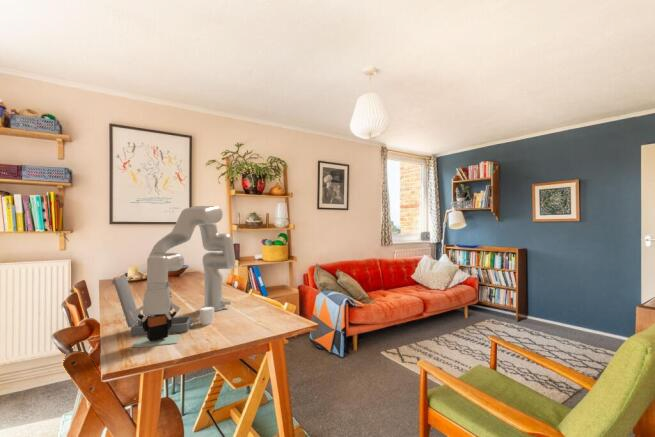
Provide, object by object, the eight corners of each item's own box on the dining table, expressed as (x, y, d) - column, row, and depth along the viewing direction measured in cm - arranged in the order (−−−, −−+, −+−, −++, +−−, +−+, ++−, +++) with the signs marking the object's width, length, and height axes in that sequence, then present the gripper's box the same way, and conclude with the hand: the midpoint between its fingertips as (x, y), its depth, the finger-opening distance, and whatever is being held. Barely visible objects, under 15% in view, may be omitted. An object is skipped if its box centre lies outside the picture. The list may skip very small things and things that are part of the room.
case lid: (125, 275, 145) (123, 275, 145) (115, 279, 133) (113, 280, 133) (139, 318, 146) (137, 319, 146) (131, 327, 134) (128, 327, 134)
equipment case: (191, 323, 152) (191, 300, 152) (187, 331, 140) (187, 306, 140) (136, 327, 146) (136, 303, 146) (127, 336, 134) (128, 310, 134)
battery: (168, 337, 130) (168, 312, 130) (149, 341, 125) (149, 316, 125) (164, 334, 133) (164, 310, 133) (146, 338, 128) (146, 313, 128)
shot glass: (217, 321, 155) (217, 306, 155) (208, 325, 148) (208, 310, 148) (205, 320, 157) (205, 305, 157) (196, 324, 151) (196, 309, 151)
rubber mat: (180, 335, 136) (180, 334, 136) (176, 343, 126) (176, 342, 126) (138, 338, 132) (138, 337, 132) (130, 347, 122) (130, 346, 122)
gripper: (182, 283, 135) (182, 324, 135) (136, 285, 131) (136, 328, 130) (179, 286, 128) (179, 330, 128) (130, 289, 123) (130, 334, 123)
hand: (157, 329), depth 129 cm, fingers closed on battery, 7 cm apart
